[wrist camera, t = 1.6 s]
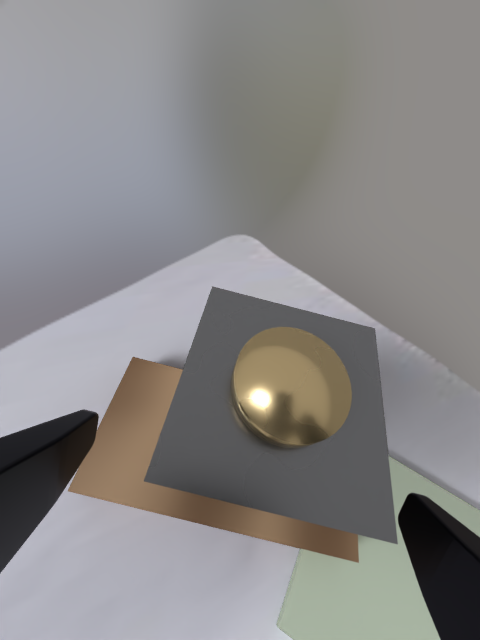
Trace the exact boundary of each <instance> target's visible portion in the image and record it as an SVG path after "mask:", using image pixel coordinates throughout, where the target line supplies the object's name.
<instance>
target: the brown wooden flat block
mask: <svg viewBox="0 0 480 640" xmlns="http://www.w3.org/2000/svg"><path fill="white" fill-rule="evenodd" d="M182 371H183V370H182V369H179V368H175V367H171V366H167V365H163V364H159V363H155V362H151V361H147V360H143V359H139V358H135V357H133V358H132V360H131V362H130V364H129V366H128V368H127V370H126V372H125V374H124V376H123V378H122V380H121V382H120V384H119V386H118V388H117V390H116V392H115V395H114V397H113V399H112V401H111V403H110V405H109V407H108V409H107V411H106V413H105V415H104V417H103V419H102V421H101V423H100V425H99V427H98V430H97V432H96V438H95V441H94V444H93V446H92V448H91V449H90V451H89V452H88V454H87V455H86V457H85V458H84V460H83V461H82V463H81V465H80V467H79V469H78V471H77V473H76V475H75V477H74V479H73V481H72V483H71V485H70V487H69V489H68V491H70V492H74V493H78V494H82V495H86V496H90V497H94V498H98V499H102V500H106V501H110V502H114V503H118V504H122V505H126V506H130V507H134V508H138V509H142V510H146V511H150V512H155V513H159V514H163V515H167V516H171V517H175V518H179V519H183V520H187V521H191V522H195V523H199V524H203V525H207V526H211V527H215V528H219V529H223V530H227V531H231V532H235V533H239V534H244V535H248V536H252V537H256V538H260V539H264V540H268V541H272V542H276V543H280V544H284V545H288V546H292V547H296V548H300V549H304V550H308V551H312V552H316V553H320V554H324V555H328V556H333V557H337V558H341V559H345V560H349V561H353V562H357V563H359V552H358V534H353V533H349V532H345V531H341V530H337V529H333V528H329V527H325V526H321V525H317V524H313V523H309V522H305V521H301V520H297V519H293V518H289V517H285V516H281V515H277V514H273V513H269V512H265V511H261V510H257V509H253V508H249V507H245V506H241V505H237V504H233V503H229V502H225V501H221V500H217V499H213V498H209V497H205V496H201V495H197V494H193V493H189V492H185V491H180V490H176V489H172V488H168V487H164V486H160V485H156V484H152V483H148V482H144V479H145V476H146V473H147V470H148V467H149V464H150V462H151V459H152V456H153V453H154V450H155V447H156V445H157V442H158V439H159V436H160V433H161V430H162V428H163V425H164V422H165V419H166V416H167V414H168V411H169V408H170V405H171V402H172V399H173V397H174V394H175V391H176V388H177V385H178V382H179V380H180V377H181V374H182Z"/></svg>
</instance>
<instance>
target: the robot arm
mask: <svg viewBox="0 0 480 640" xmlns="http://www.w3.org/2000/svg"><path fill="white" fill-rule="evenodd" d="M97 425H98V414H97V413H96V412H92V411H88V410H80V411H77V412H74V413H71V414H68V415H65V416H62V417H59V418H57V419H54V420H51V421H48V422H45V423H42V424H39V425H36V426H33V427H30V428H27V429H25V430H22V431H19V432H16V433H13V434H10V435H7V436H4V437H1V438H0V573H1V572H2V570H3V569H4V568H5V567H6V565H7V564H8V563H9V561H10V560H11V559H12V558H13V556H14V555H15V554H16V553H17V551H18V550H19V549H20V547H21V546H22V545H23V544H24V542H25V541H26V540H27V539H28V537H29V536H30V535H31V534H32V532H33V531H34V530H35V528H36V527H37V526H38V525H39V523H40V522H41V521H42V520H43V518H44V517H45V516H46V514H47V513H48V512H49V510H50V509H51V508H52V506H53V505H54V504H55V502H56V501H57V499H58V498H59V497H60V495H61V494H62V492H63V491H64V489H65V487H66V486H67V484H68V483H69V481H70V480H71V478H72V477H73V475H74V474H75V472H76V471H77V469H78V468H79V466H80V465H81V463H82V461H83V460H84V458H85V457H86V455H87V454H88V452H89V451H90V449H91V448H92V446H93V444H94V441H95V438H96V431H97ZM398 524H399V528H400V531H401V534H402V537H403V540H404V543H405V546H406V548H407V551H408V554H409V557H410V560H411V563H412V566H413V569H414V572H415V575H416V578H417V581H418V584H419V587H420V590H421V593H422V596H423V598H424V601H425V603H426V606H427V608H428V611H429V613H430V616H431V618H432V620H433V623H434V625H435V628H436V630H437V633H438V635H439V637H440V640H480V537H479V536H477V535H476V534H475V533H474V532H472V531H471V530H470V529H468V528H467V527H466V526H465V525H463V524H462V523H461V522H459V521H458V520H457V519H456V518H454V517H453V516H452V515H450V514H449V513H448V512H447V511H445V510H444V509H443V508H441V507H440V506H439V505H438V504H436V503H435V502H434V501H432V500H431V499H430V498H428V497H427V496H425V495H421V494H417V493H409V494H408V495H407V497H406V499H405V501H404V503H403V505H402V508H401V510H400V512H399V514H398Z"/></svg>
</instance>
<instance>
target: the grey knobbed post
mask: <svg viewBox="0 0 480 640" xmlns="http://www.w3.org/2000/svg"><path fill="white" fill-rule="evenodd" d="M144 482H148V483H152V484H156V485H160V486H164V487H168V488H172V489H176V490H180V491H185V492H189V493H193V494H197V495H201V496H205V497H209V498H213V499H217V500H221V501H225V502H229V503H233V504H237V505H241V506H245V507H249V508H253V509H257V510H261V511H265V512H269V513H273V514H277V515H281V516H285V517H289V518H293V519H297V520H301V521H305V522H309V523H313V524H317V525H321V526H325V527H329V528H333V529H337V530H341V531H345V532H349V533H353V534H358V535H362V536H366V537H370V538H374V539H378V540H382V541H386V542H390V543H394V544H398V541H397V531H396V522H395V513H394V503H393V494H392V484H391V475H390V466H389V456H388V447H387V438H386V428H385V419H384V410H383V400H382V391H381V381H380V372H379V363H378V353H377V344H376V335H375V329H374V328H371V327H367V326H363V325H359V324H355V323H351V322H347V321H344V320H340V319H336V318H332V317H328V316H324V315H320V314H317V313H313V312H309V311H305V310H301V309H297V308H293V307H290V306H286V305H282V304H278V303H274V302H270V301H266V300H263V299H259V298H255V297H251V296H247V295H243V294H239V293H235V292H232V291H228V290H224V289H220V288H216V287H212V289H211V292H210V295H209V298H208V300H207V303H206V306H205V309H204V312H203V315H202V317H201V320H200V323H199V326H198V329H197V332H196V334H195V337H194V340H193V343H192V346H191V348H190V351H189V354H188V357H187V360H186V363H185V365H184V368H183V371H182V374H181V377H180V380H179V382H178V385H177V388H176V391H175V394H174V397H173V399H172V402H171V405H170V408H169V411H168V414H167V416H166V419H165V422H164V425H163V428H162V430H161V433H160V436H159V439H158V442H157V445H156V447H155V450H154V453H153V456H152V459H151V462H150V464H149V467H148V470H147V473H146V476H145V479H144Z"/></svg>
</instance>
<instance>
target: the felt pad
mask: <svg viewBox="0 0 480 640" xmlns="http://www.w3.org/2000/svg"><path fill="white" fill-rule="evenodd" d="M389 466H390V475H391V484H392V494H393V503H394V513H395V522H396V531H397V541H398V544H394V543H390V542H386V541H382V540H378V539H374V538H370V537H366V536H362V535H358V552H359V563H357V562H353V561H349V560H345V559H341V558H337V557H333V556H328V555H324V554H320V553H316V552H312V551H308V550H304V549H300V551H299V554H298V557H297V561H296V564H295V567H294V570H293V573H292V576H291V580H290V583H289V586H288V589H287V592H286V595H285V599H284V602H283V605H282V608H281V611H280V614H279V618H278V621H277V624H276V625H277V626H278V628H279V629H280V630H282V631H283V632H284V633H286V634H287V635H288V636H289V637H291V638H292V639H293V640H440V637H439V635H438V633H437V630H436V628H435V625H434V623H433V620H432V618H431V616H430V613H429V611H428V608H427V606H426V603H425V601H424V598H423V596H422V593H421V590H420V587H419V584H418V581H417V578H416V575H415V572H414V569H413V566H412V563H411V560H410V557H409V554H408V551H407V548H406V546H405V543H404V540H403V537H402V534H401V531H400V528H399V524H398V514H399V512H400V510H401V508H402V505H403V503H404V501H405V499H406V497H407V495H408V494H409V493H417V494H421V495H425V496H427V497H428V498H430V499H431V500H432V501H434V502H435V503H436V504H438V505H439V506H440V507H441V508H443V509H444V510H445V511H447V512H448V513H449V514H450V515H452V516H453V517H454V518H456V519H457V520H458V521H459V522H461V523H462V524H463V525H465V526H466V527H467V528H468V529H470V530H471V531H472V532H474V533H475V534H476V535H477V536H479V537H480V510H478V509H476V508H475V507H473V506H471V505H470V504H468V503H466V502H465V501H463V500H461V499H460V498H458V497H456V496H455V495H453V494H451V493H450V492H448V491H446V490H445V489H443V488H441V487H440V486H438V485H436V484H435V483H433V482H431V481H430V480H428V479H426V478H425V477H423V476H421V475H420V474H418V473H416V472H415V471H413V470H411V469H410V468H408V467H406V466H405V465H403V464H401V463H400V462H398V461H396V460H395V459H393V458H391V457H390V456H389Z"/></svg>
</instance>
